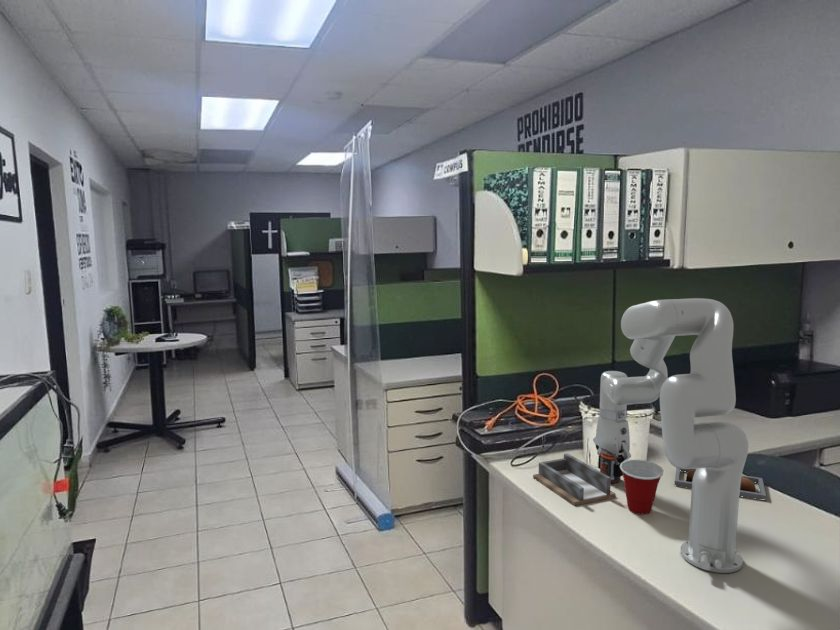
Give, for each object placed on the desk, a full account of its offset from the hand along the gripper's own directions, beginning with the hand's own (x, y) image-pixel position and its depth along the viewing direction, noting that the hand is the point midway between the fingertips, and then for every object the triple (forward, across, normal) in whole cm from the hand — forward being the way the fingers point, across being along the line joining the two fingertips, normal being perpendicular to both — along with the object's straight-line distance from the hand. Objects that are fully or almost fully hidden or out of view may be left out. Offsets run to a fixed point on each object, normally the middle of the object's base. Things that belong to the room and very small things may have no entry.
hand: (610, 471), depth 176 cm
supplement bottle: (+3, 0, 0) cm, 3 cm away
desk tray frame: (+3, -15, -27) cm, 31 cm away
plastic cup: (+3, -19, +6) cm, 20 cm away
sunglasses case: (+3, -15, -28) cm, 32 cm away
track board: (+3, 0, +14) cm, 14 cm away
